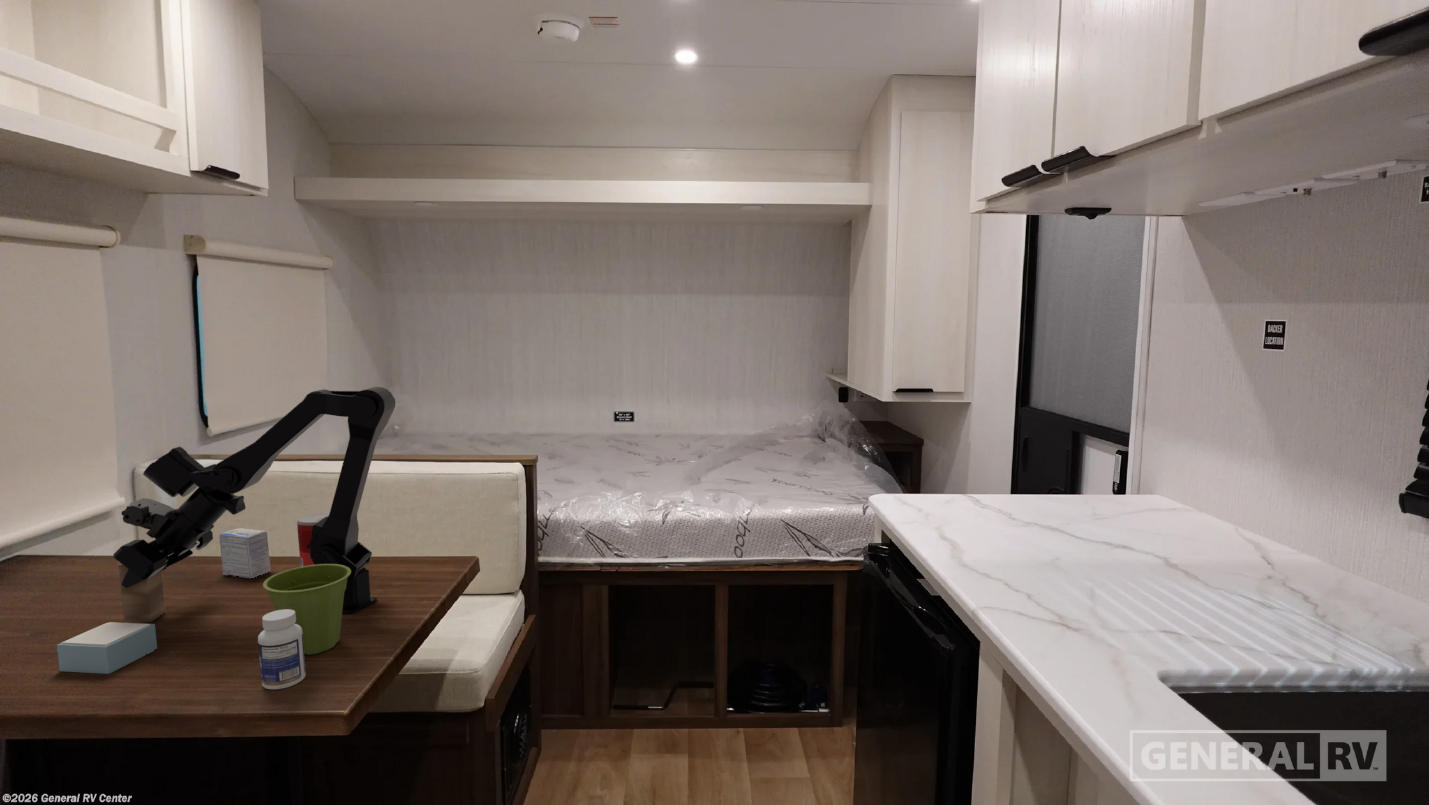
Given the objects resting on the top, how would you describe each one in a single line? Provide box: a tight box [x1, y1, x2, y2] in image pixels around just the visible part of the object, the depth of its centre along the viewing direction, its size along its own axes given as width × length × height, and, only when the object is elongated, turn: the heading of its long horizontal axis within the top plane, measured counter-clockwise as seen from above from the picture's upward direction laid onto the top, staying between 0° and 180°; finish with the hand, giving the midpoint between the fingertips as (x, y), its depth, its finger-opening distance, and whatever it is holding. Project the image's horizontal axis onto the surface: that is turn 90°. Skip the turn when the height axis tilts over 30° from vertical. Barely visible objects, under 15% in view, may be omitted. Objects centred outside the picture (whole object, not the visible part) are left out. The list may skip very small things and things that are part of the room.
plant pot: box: [262, 564, 351, 656], centre depth 113 cm, size 12×12×11 cm
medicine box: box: [219, 527, 271, 579], centre depth 147 cm, size 8×4×9 cm, turn 71°
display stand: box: [56, 621, 158, 675], centre depth 110 cm, size 8×8×4 cm
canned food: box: [296, 511, 330, 567], centre depth 149 cm, size 8×8×11 cm
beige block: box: [117, 561, 166, 624], centre depth 125 cm, size 4×4×11 cm
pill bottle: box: [257, 609, 307, 690], centre depth 103 cm, size 5×5×10 cm
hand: (132, 581), depth 125 cm, fingers closed on beige block, 4 cm apart
